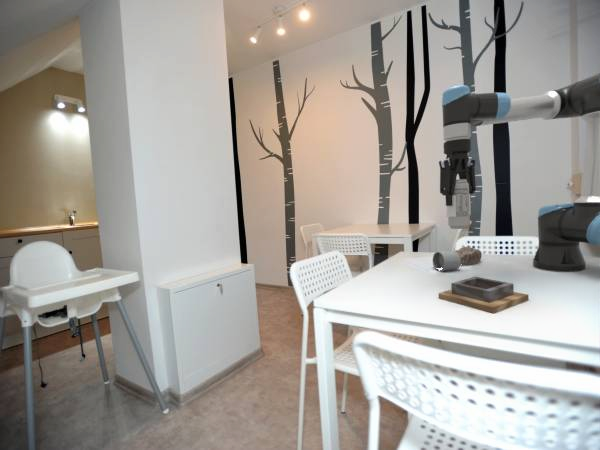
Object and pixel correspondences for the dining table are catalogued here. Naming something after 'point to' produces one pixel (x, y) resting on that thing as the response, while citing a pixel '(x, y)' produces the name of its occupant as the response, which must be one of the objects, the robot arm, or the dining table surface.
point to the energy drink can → (461, 206)
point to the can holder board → (484, 294)
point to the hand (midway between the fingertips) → (458, 215)
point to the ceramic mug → (446, 260)
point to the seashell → (469, 255)
